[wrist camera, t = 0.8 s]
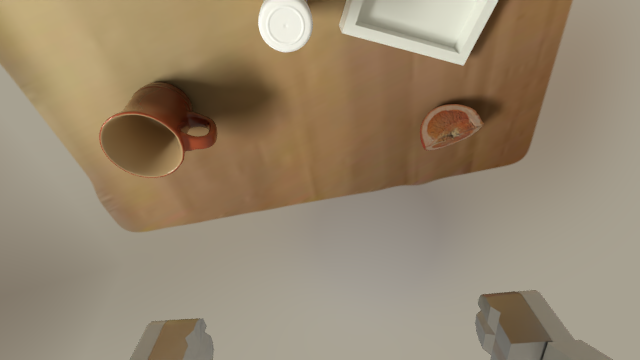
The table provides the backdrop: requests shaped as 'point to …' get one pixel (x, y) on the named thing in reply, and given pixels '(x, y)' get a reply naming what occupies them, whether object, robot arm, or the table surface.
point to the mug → (154, 131)
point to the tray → (420, 25)
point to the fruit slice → (448, 126)
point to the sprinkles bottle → (285, 24)
